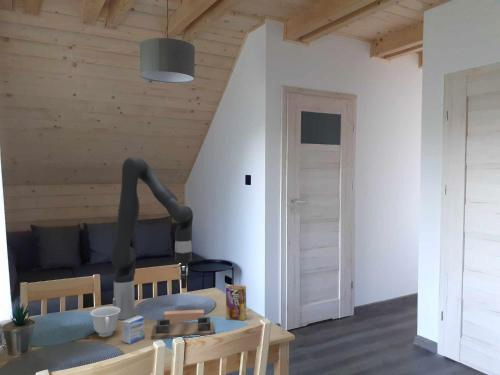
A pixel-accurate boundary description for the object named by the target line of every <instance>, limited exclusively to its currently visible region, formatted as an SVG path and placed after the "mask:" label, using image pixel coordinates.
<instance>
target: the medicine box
mask: <svg viewBox="0 0 500 375" xmlns="http://www.w3.org/2000/svg"><path fill="white" fill-rule="evenodd" d="M121 326H122V342H123V343H124V344H125V343H126V344H129V345H132V344H135V343H136V342H138V341H140V340H142V339H144V338H145V337H146V336H145V317H144V316H141V315H135V316H134V317H132V318H129V319H124V320H122V325H121Z"/></svg>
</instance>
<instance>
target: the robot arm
mask: <svg viewBox="0 0 500 375" xmlns="http://www.w3.org/2000/svg"><path fill="white" fill-rule="evenodd" d="M121 168H122V169H121V191H120V195H119V196H120V198H119V205H118V210H117V222H116V228H115V238H114V242H113V247H112V251H111V254H110V260H111V263H112V265H113V267H115V271H114V274H113V298H112V306H114V307H118V308H120V312H119V315H118V321H119V320H122V321H125V320H127V319H130V318H132V317H135V316H136V315H135V312H136V311H135V275H136V267H137V266H136V263H137V262H136V260H137V259H136V251H135V249H134V248H133V247H132V246H131V243H132V242H131V241H132V238H133V234H134V232H135V230H136V227H137V224H138V222H139V221H138V220H139V215H140V200H139V197H138V192H137V189H138V180H141V181H142V182H143V183H144V184H146V186H148V188H149V189H150V190H149V191H150V192H151V193H152V194H153V197H154V198H155V199H156V200H157V201H158V202H159V203H160V204H161V205H162V206H163V207H164V208H165V209H166V211H167V213H168V214H169V216H170V217H171V218H172V219H173V221H175V222H176V223H177V224H178V225H177V227H176V229H175V234H174V235H175V236H174V237H175V239H174V240H175V241H174V242H175V243H174V260H175V262H177V263H180V264H179V267H178V268H179V276H180V285H181V286H180V287H181V289H187V280H188V278H187V276H188V269H189V264H188V263H189V262H191V261H192V260H193V255H192V254H193V250H192V249H193V247H192V227H193V220H194V219H193V218H194V213H193V210H192V208H191V207H189V206H188V205H185V206H184V205H181V204H180V203H179V201H178V197H177V196H176V195H175V194H174V193H173V192H172V191H171V190H170V189H169V188H168V187H167V186H166V185H165V184H164V183H163V182H162V181H161V180H160V178H159V177H158V176H157V175H156V174H155V173H154V171H153V170H152V169H151V166H150V165H149V164H148V163H147V162H146V161H145V160H144V159H143V158H140V157H133V156H132V157H131V156H130V157H127V158H126V159H125V160H124V162H123V163H122V167H121Z"/></svg>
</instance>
